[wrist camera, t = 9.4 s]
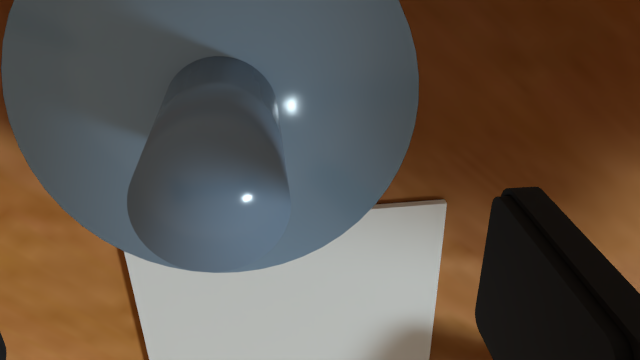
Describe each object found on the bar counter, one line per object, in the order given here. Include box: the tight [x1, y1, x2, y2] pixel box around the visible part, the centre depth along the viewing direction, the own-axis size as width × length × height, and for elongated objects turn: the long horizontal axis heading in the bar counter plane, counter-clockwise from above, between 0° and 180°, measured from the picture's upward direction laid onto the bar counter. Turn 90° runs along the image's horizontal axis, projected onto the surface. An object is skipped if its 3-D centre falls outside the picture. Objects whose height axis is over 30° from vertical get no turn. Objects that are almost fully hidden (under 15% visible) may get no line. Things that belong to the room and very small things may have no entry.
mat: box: [124, 199, 447, 360], centre depth 30 cm, size 16×16×1 cm
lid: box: [1, 0, 419, 273], centre depth 15 cm, size 13×13×7 cm
